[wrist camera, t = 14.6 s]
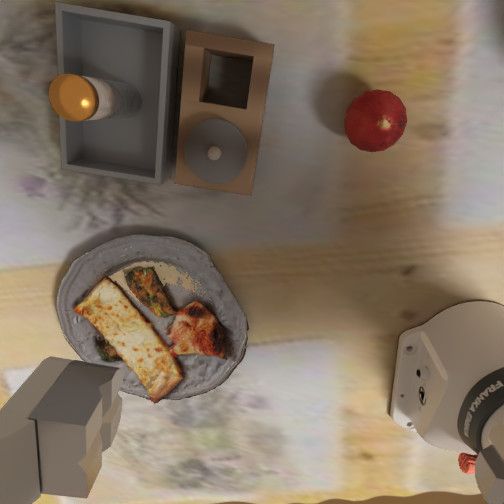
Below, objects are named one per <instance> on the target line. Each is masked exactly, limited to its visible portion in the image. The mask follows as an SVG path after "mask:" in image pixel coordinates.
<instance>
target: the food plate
mask: <svg viewBox="0 0 504 504" xmlns="http://www.w3.org/2000/svg"><path fill="white" fill-rule="evenodd" d="M209 258H210V256H209V254H207V253H206V252H204V251H203V250H202V249H200V248H198V247H196V245H193V244H192V243H189V242H188V241H185V240H183V239H178V238H176V237H168V236H149V235H142V234H140V235H131V236H124V237H120V238H115V239H113V240H112V239H111V241H107V242H105V243H103V244H101V245H99V246H98V247H96V248H94V249H92V250H90V251H88V252H87V253H85V254H83V255H82V256H80V257H79V258H76V259H75V260H74V261H73V263H72V264H71V265H70V268H69V269H68V271H67V274H66V275H65V276H64V278H63V279H62V281H61V285H60V287H59V291H58V295H57V301H56V302H57V311H58V312H57V314H58V317H59V319H60V323H61V329H62V331H63V333H64V334H65V336H66V337H67V338H66V337H65V336H64V337H65V339H66V340H67V339H68V340H69V341H68V340H67V341H68V343H69V344H70V343H71V344H70V346H71V347H72V348H73V347H74V348H75V349H76V350H75V349H74V348H73V349H74V351H75V352H76V353H77V354H78V355H79V356H80V358H81V359H82V360H84V362H89V363H95V364H101V365H107V366H113V367H118V368H121V369H122V370H123V384H122V386H121V388H120V391H123V392H126V393H128V394H133V395H138V396H140V397H143V398H146V399H149V400H151V401H153V402H154V404H155V403H158V402H159V401H160V400H162V399H167V400H168V399H171V400H180V399H183V398H190V397H192V396H196V395H200V394H203V393H207V392H208V391H210V390H212V389H215V388H216V387H217V386H219V385H221V384H222V383H223V382H224V381H225V380H227V379H228V378H229V376H230V375H231V373H232V372H233V370H234V369H235V368H236V367H237V365H238V364H239V363H240V362H241V361H242V359H243V358H244V355H245V352H246V348H245V346H246V342H247V339H248V337H247V331H248V329H249V328H248V322H247V317H246V314H244V313H245V312H244V313H243V311H242V308H241V306H240V305H239V304H238V302H237V301H236V299H235V297H234V295H233V293H232V292H231V290H230V288H229V287H228V286H227V284H226V283H225V281H224V279H223V278H222V276H221V274H220V273H219V272H218V270H217V269H216V268H215V267H214V264H213V263H212V262H211V261H212V260H211V258H210V259H209ZM143 261H146V262H150V261H154V262H155V263H156V262H157V263H158V262H164V263H166V264H168V265H169V266H168V267H170V266H172V265H173V266H175V267H177V268H176V270H177V271H180V273H181V274H183V275H186V273H185V272H188V274H189V275H190V277H191V278H193V279H194V281H195V282H196V283H197V287H198V289H197V291H196V293H194V294H193V293H192V290H191V289H188V291H187V292H186V291H185V289H184V288H183V287H182V286H181V284H182V283H183V282H182V280H180V278H179V277H178V279H179V280H178V281H177V284H178V286H175V285H171V286H170V285H169V283H165V286H164V287H163V284H162V283H161V281H160V280H159V277H158V276H157V274H156V271H155V270H154V266H153V267H152V268H147V269H144V268H143V267H139V268H134V269H133V271H131V272H129V273H128V274H127V273H125V276H126V278H127V284H128V286H129V288H130V290H132V292H133V293H134V294H136V297H137V298H138V299H139V300H140V302H141V303H142V304H141V305H140V306H139V302H137V301H136V300H135V299H134V298H132V297H131V296H130V295H129V294H128V293H127V291H126V290H123V288H122V287H121V286H120V285H119V284H117V283H116V282H117V281H115V282H113V281H112V280H111V278H108V276H111V275H113V274H114V273H116V272H118V271H120V270H121V269H124V268H125V267H127V266H130V265H131V264H133V263H136V262H143ZM160 266H161V265H160ZM189 275H188V276H189ZM186 278H187V279H188V277H186ZM164 280H165V279H164ZM196 280H198V281H200V283H201V284H202V286H204V287H205V288H204V287H202V286H199V283H198V282H197V281H196ZM191 281H192V280H191ZM194 281H192V284H193V285H195V283H194ZM179 282H181V283H180V284H179ZM194 288H195V286H194ZM202 289H204V290H205V291H206V293H204V291H203V290H202ZM194 290H195V289H194ZM214 290H215V291H214ZM177 291H179V292H177ZM199 291H200V292H199ZM188 293H190V294H188ZM197 293H198V294H199V296H197ZM200 294H203V297H201V296H200ZM168 296H169V297H168ZM208 298H210V299H211V300H212V301H211V300H209V299H208ZM72 345H73V346H72ZM246 347H247V346H246Z"/></svg>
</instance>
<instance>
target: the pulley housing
mask: <svg viewBox="0 0 504 504" xmlns="http://www.w3.org/2000/svg"><path fill="white" fill-rule="evenodd" d="M273 52H274V44H268V43H262V42H256V41H250V40H244V39H238V38H232V37H227V36H221V35H215V34H209V33H203V32H197V31H191V30H186V41H185V54H184V67H183V80H182V94H181V107H180V120H179V133H178V146H177V159H176V172H175V184H181V185H187V186H193V187H200V188H206V189H212V190H219V191H225V192H231V193H237V194H244V195H250V196H251V193H252V187H253V181H254V174H255V168H256V161H257V155H258V148H259V142H260V135H261V129H262V122H263V116H264V110H265V103H266V97H267V90H268V84H269V77H270V71H271V64H272V58H273ZM211 54H212V55H218V56H224V57H230V58H236V59H242V60H248V61H253V66H252V73H251V80H250V88H249V95H248V102H247V108H241V107H235V106H229V105H223V104H217V103H211V102H207V92H208V82H209V72H210V62H211Z"/></svg>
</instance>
